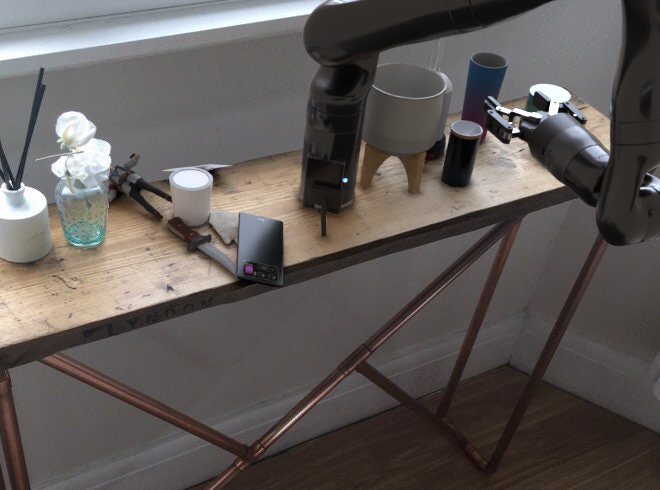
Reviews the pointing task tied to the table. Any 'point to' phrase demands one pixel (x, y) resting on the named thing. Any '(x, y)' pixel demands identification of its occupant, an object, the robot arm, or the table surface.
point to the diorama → (200, 167)
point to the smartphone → (260, 250)
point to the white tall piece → (441, 137)
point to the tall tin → (461, 153)
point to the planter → (402, 119)
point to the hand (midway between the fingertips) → (511, 99)
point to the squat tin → (550, 91)
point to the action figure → (133, 185)
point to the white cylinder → (191, 195)
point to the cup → (482, 85)
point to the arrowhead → (225, 225)
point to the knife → (199, 242)
